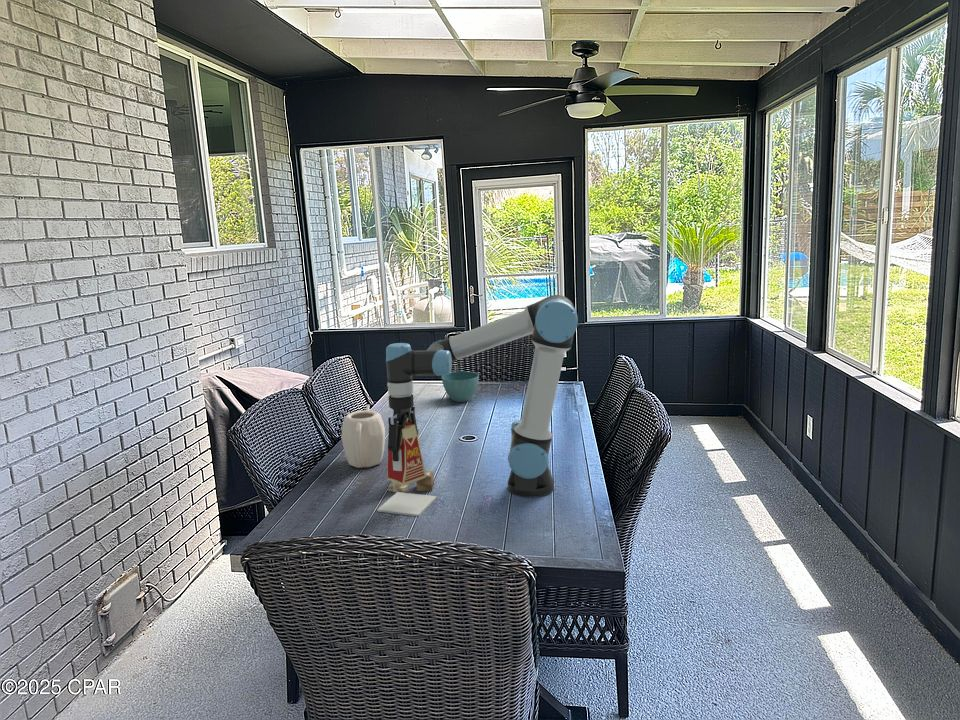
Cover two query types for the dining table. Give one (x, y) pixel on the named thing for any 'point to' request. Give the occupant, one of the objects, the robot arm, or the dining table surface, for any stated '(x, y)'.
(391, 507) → the mat
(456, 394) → the teal bowl
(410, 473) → the milk carton
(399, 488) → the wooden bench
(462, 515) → the dining table surface
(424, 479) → the walnut cube
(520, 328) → the robot arm
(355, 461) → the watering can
